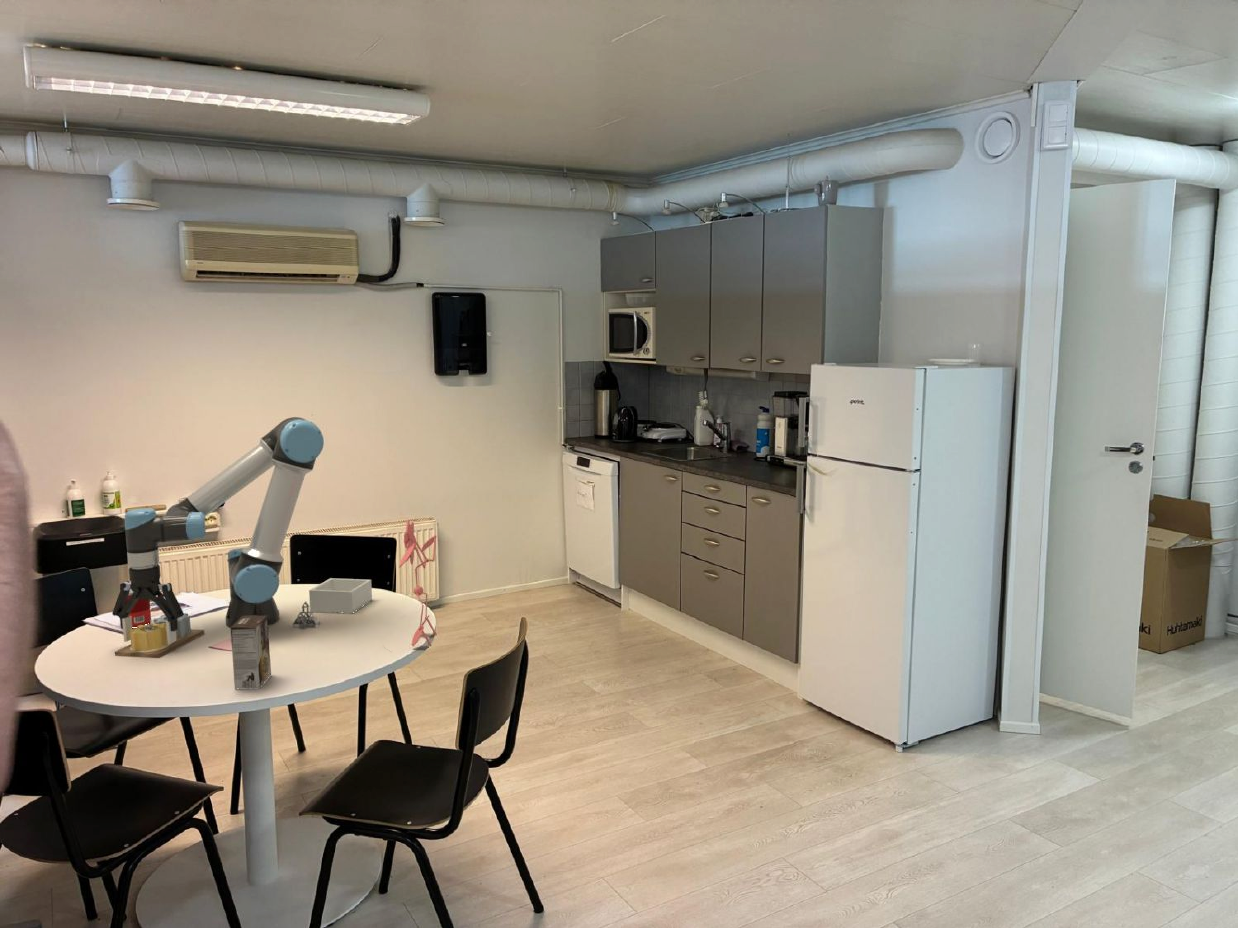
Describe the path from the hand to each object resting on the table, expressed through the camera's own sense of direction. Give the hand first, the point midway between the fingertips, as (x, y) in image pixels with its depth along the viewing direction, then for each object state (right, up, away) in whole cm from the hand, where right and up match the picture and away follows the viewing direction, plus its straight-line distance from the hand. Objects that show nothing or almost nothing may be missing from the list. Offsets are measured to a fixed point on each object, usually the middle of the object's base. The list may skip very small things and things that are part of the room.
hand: (150, 641), depth 240 cm
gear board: (+1, -2, +5) cm, 5 cm away
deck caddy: (+40, +3, +40) cm, 57 cm away
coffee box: (+38, -6, -23) cm, 45 cm away
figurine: (+70, -2, +7) cm, 70 cm away
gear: (+1, 0, +10) cm, 10 cm away
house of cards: (+35, 0, +19) cm, 40 cm away
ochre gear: (0, -1, 0) cm, 1 cm away
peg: (0, -1, 0) cm, 1 cm away
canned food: (-16, 0, +22) cm, 27 cm away
